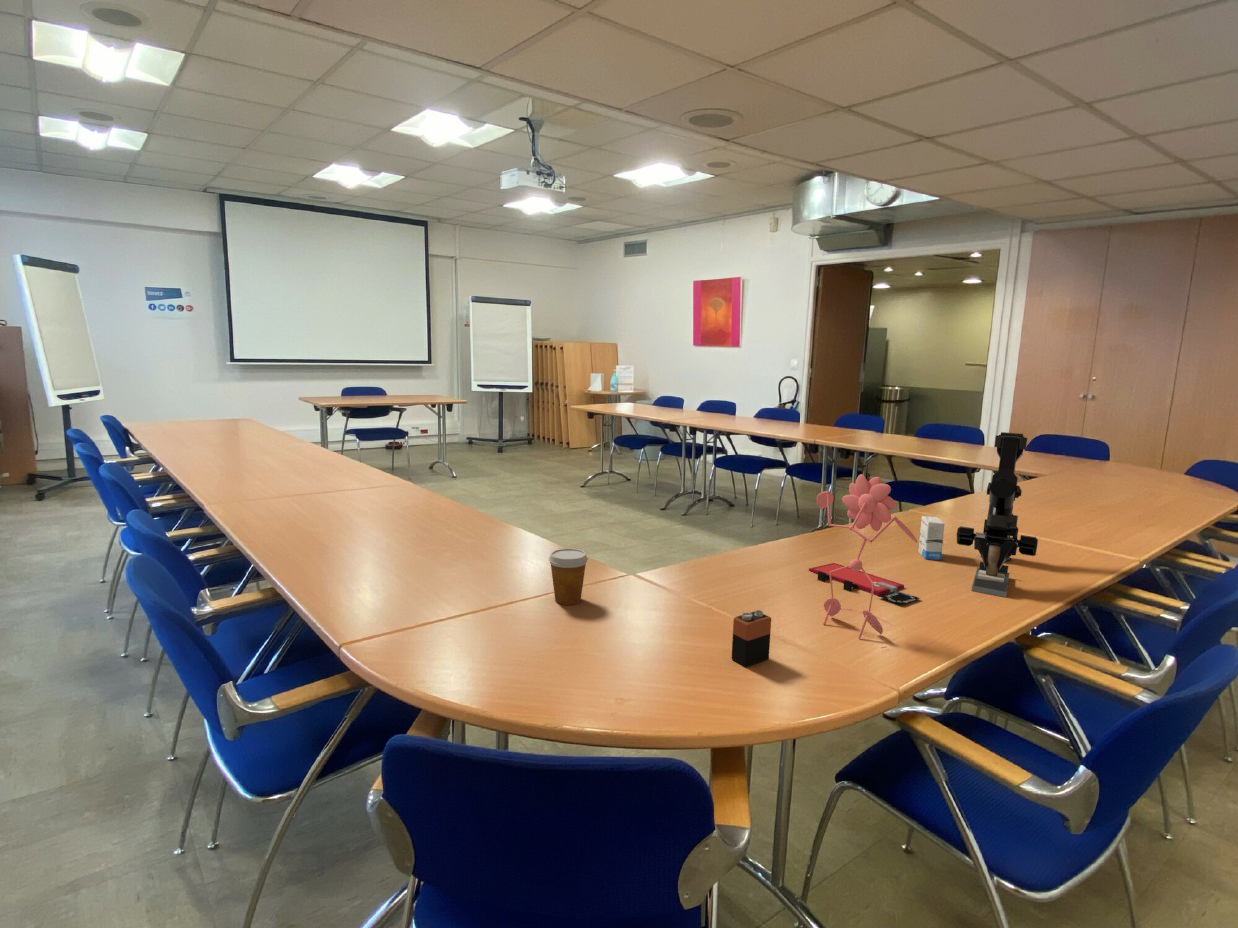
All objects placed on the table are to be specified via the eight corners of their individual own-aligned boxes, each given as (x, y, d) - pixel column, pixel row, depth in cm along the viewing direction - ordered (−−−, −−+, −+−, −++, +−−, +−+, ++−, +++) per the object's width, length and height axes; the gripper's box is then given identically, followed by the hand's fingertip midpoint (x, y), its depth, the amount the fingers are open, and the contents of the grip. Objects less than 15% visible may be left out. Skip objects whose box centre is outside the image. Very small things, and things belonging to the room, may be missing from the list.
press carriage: (978, 578, 178) (982, 542, 176) (1003, 583, 174) (1008, 546, 173) (976, 584, 173) (981, 547, 172) (1002, 588, 170) (1007, 551, 168)
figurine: (892, 654, 135) (910, 488, 130) (792, 613, 156) (804, 468, 150) (931, 638, 144) (949, 482, 139) (831, 601, 165) (844, 464, 159)
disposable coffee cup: (592, 596, 164) (593, 550, 162) (578, 610, 155) (578, 561, 153) (558, 591, 167) (558, 545, 165) (541, 604, 158) (541, 556, 156)
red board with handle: (896, 609, 160) (930, 598, 169) (897, 598, 160) (931, 588, 168) (799, 575, 184) (833, 567, 193) (800, 565, 184) (834, 558, 192)
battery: (730, 659, 132) (732, 612, 130) (754, 651, 136) (756, 605, 134) (745, 668, 128) (748, 620, 126) (769, 659, 132) (772, 612, 130)
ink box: (941, 560, 199) (945, 523, 197) (924, 559, 200) (928, 522, 198) (934, 552, 207) (938, 516, 205) (917, 551, 208) (921, 515, 206)
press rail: (976, 572, 188) (978, 560, 188) (1008, 577, 184) (1010, 566, 184) (971, 590, 173) (972, 578, 173) (1006, 597, 169) (1007, 584, 169)
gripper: (961, 497, 178) (952, 546, 171) (1042, 507, 169) (1036, 559, 161) (961, 519, 186) (952, 566, 179) (1038, 530, 176) (1032, 580, 169)
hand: (992, 567), depth 172 cm, fingers closed on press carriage, 3 cm apart
